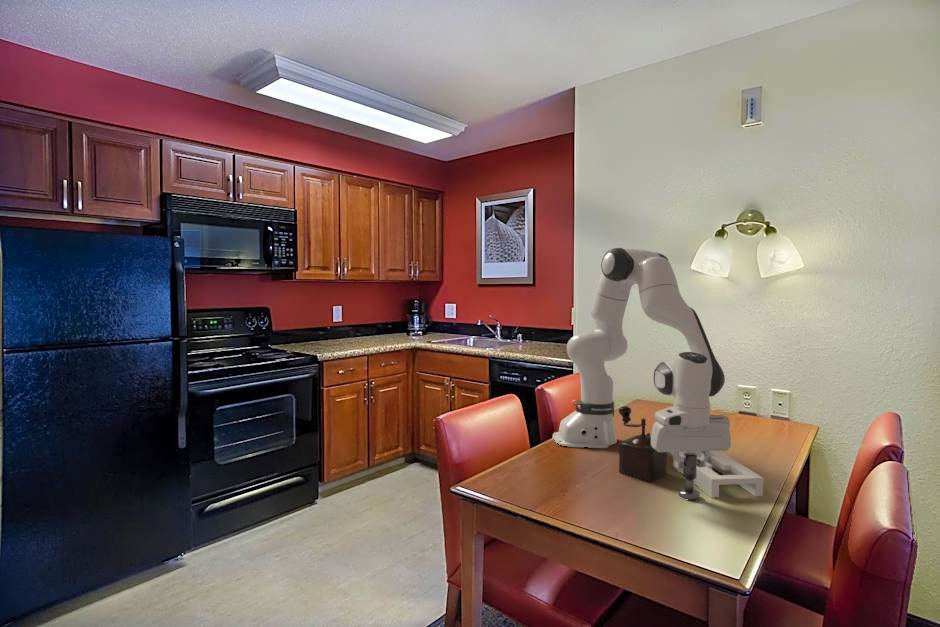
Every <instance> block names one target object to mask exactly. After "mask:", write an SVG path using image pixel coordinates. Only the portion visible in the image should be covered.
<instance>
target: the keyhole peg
mask: <svg viewBox="0 0 940 627" xmlns="http://www.w3.org/2000/svg"><path fill="white" fill-rule="evenodd" d="M696 471H697V454H695V453H690V452H686V453H684V461H683V475H682V476H683V478H685V480H684V481H685V484H684V485H685V486H684V487H683V488H682V487H681V488H679V490H678V497H679V496H680V497H682V498H684V499H688V500H697V501H699V500H700V499H699V498H700V497H701V495H700V492H699V491H698V490H696V489H694V485H695V484H694V479H696ZM680 497H679V498H680ZM682 498H681V499H682ZM684 499H683V500H684ZM698 499H699V500H698ZM688 500H687V501H688Z"/></svg>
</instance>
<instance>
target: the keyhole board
mask: <svg viewBox="0 0 940 627" xmlns="http://www.w3.org/2000/svg"><path fill="white" fill-rule="evenodd" d="M684 453H686V452H679V456H678V455H677V456H678V458H679V459H680V460H681V461H684ZM690 453H695V454H697V459H700V457H701V455H702V454H703V453H702V452H701V451H691V452H690ZM709 462H710V463H709ZM672 467H673V468H674V469H675V470H676V469H677V470H676V471H677V472H679V473H680V472H681V473H682V474H683V468H676V467H675V460H674V458H673V457H672ZM713 469H715V470H717V472H715V471H714V470H713ZM718 472H719V473H721V474H722V475H720V474H719V473H718ZM681 473H680V474H681ZM682 474H681V475H682ZM695 484H696V485H697V486H698V489H700V490H701V491H702V490H703V491H704V492H703V491H702V492H703V493H705V494H706V495H707V494H708V495H709V496H708V495H707V496H708V497H710V498H711V499H713V498H714V499H716V498H715V497H718V498H719V497H720V496H719V495H720V486H724V485H738V486H739V487H741V488H742V489H743V490H745V491H747V492H748V493H750V494H751V495H752V496H753V497H755V498H756V497H763V496H764V495H763V494H764V477H762V476H761V475H759V474H758V473H757V472H755V471H753V470H751V469H750V468H748V467H746V466H744V465H743V464H742V463H740V462H739V461H736V460H735V459H734V458H732V457H730V456H729V455H727V454H726V453H723V452H722V451H710V456H709V457H708V459H707V460H706V464H705V467H699V466H697V471H696V479H694V485H695ZM696 485H695V486H696ZM697 486H696V487H697ZM718 498H717V499H718Z"/></svg>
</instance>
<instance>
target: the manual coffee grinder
mask: <svg viewBox="0 0 940 627" xmlns="http://www.w3.org/2000/svg"><path fill="white" fill-rule="evenodd" d="M618 413H619V415H621V417H622V418H621V419H622V420H621V421H622V422H623V426H624V427H628V428H629V427H630V428H639V427H641V434H638V435H634V436H631V437H630V438H627V439H625V440H623V441H620V442H619V444H618V446H619V450H618V451H619V453H618V454H619V457H618V460H619V461H618V465H619V466H618V469H619V470H618V473H619V472H620V473H619V474H621V473H622V475H624V474H625V475H624V476H627V475H628V476H627V477H630V476H631V477H630V478H633V477H635V478H634V479H636V478H638V479H637V480H640V479H641V480H640V481H644V480H645V481H644V482H647V481H648V483H652V481H653V482H655V481H657V480H659V479H660V478H662V477H663V475H664V476H666V475H667V471H668V470H667V468H668V466H667V465H668V462H667V461H668V452H657V451H656V450H655V449H653V447H652V446H651V433H650V432H648V433H647V434H646V426H647V424H646V419H645V418H641V419H640V421H641V422H640V423H636V424H635V423H629V422H630V421H632V418H631V417H630V415H631V413H632V409H631V407H630V406H627V405H626V406H624V405H623V406H621V407H619V409H618ZM661 476H662V477H661ZM656 479H657V480H656ZM654 480H655V481H654Z"/></svg>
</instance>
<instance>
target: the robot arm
mask: <svg viewBox="0 0 940 627" xmlns="http://www.w3.org/2000/svg"><path fill="white" fill-rule="evenodd" d="M600 268H601V272H602V273H601V276H600V277H599V281H598V283H597V286H596V290H595V293H594V297H593V301H592V303H591V308H590V315H591V317H592V318H593V319H594V321H595V328H594V330H593V331H589V332H586V331H585V332H581V333H579V334H576V335H573V336H572V337H570V339H569V340H568V342H567V344H566V353H567V356H568V358H569V359H570V360H571V361H572V362H573V364H575V366H576V368H577V370H578V374H579V378H580V399H579V400H577V399H572V401H571V404H572V406H574V407H575V408H574V409H575V410H574V411H573V412H571V413H569V415H567V416H566V417H564V418H563V419H561V421H560V423H559V428H558V431H555V432H553V433H552V440H553V439H554V440H555V441H554V440H553V441H554V442H555V444H557V443H558V444H559V446H560V445H562V446H561V447H563V446H567V447H566V448H584V447H588V448H592V449H607V448H609V447H610V446H612V445H614V444H616V443H617V442H618V439H617V436H616V432H615V423H614V417H615V401H614V381H613V378H612V377H611V375H609V374H608V373H607V370H606V366H605V362H609V361H611V362H612V361H615V360H617V359H619V358H621V357H623V356H624V355H625V354H626V353H627V350H628V341H627V338H626V337H625V335H624V333H623V322H624V315H625V312H626V308H627V305H628V302H629V298H630V294H631V290H632V287H633V286H634V285H637V287H638V294H639V300H640V305H641V308H642V311H643V313H644V314H645V315H646V316H647V317H648V318H649V319H650V320H652V321H654V322H657V323H659V324H661V325H662V324H663V325H666V326H668V327H670V328H673V329H675V330H677V331H678V332H680V333H681V334H682V335H683V336H684V338H685V340H686V342H687V345H688V347H689V350H690V351H682V352H680V353H678V354H677V355H676V357H675V358H674V359H670V360H665V361H662V362H660V363H659V364H657V366H656V367H655V369H654V371H653V384H654V385H653V386H654V387H655V389H656V390H658V392H659V393H661V394H662V395H664V396H665V395H666V396H673V397H674V398H673V399H674V400H673V405H671V406H669V407H666V408H663V409H660V410H657V411H655V412H654V419H655V420H656V421H655V422H654V423H653V425H652V428H651V433H650V437H651V446H652V447H653V449H655V450H656V451H657V452H667V453H670V454H671V456H672V459H673V458H674V460H675V467H676V468H683V461H681V460H680V459H679V458H678V456H679V452H691V451H701V452H702V453H703V454H702V455H701V457H700V459H697V466H699V467H705V464H706V460H707V459H708V457H709V456H710V451H721V452H722V451H723V452H724V451H726V452H727V451H729V449H730V448H731V445H732V444H731V432H730V427H731V421H730V419H729V418H728V416H726V415H725V414H711V402H710V397H715V395H717V394H719V393H720V391H721V389H723V387H724V385H725V382H726V381H725V380H726V379H725V378H726V377H725V373H724V371H723V369H722V367H721V365H720V364H719V362H718V360H717V359H716V357H715V355H714V351H713V350H712V347H711V345H710V342H709V339H708V337H707V335H706V332H705V330H704V328H703V325H702V323H701V319H700V318H699V316H698V314H697V312H696V311H695V309H694V308H692V307H691V306H689V305H688V304H687V302H686V301H685V300H684V298H683V297H682V295H681V292H680V289H679V284H678V281H677V277H676V275H675V272H674V270H673V267H672V265H671V263H670V261H669V259H668V257H667V256H666V255H665V254H662V253H660V252H657V251H650V250H646V249H639V248H637V249H636V248H635V249H634V248H623V247H614V248H610V249H608V250H607V251H606V252H605V254H604V255H603V257H602V258H601V265H600ZM558 444H557V445H558ZM588 448H587V449H588ZM677 455H678V456H677Z"/></svg>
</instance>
